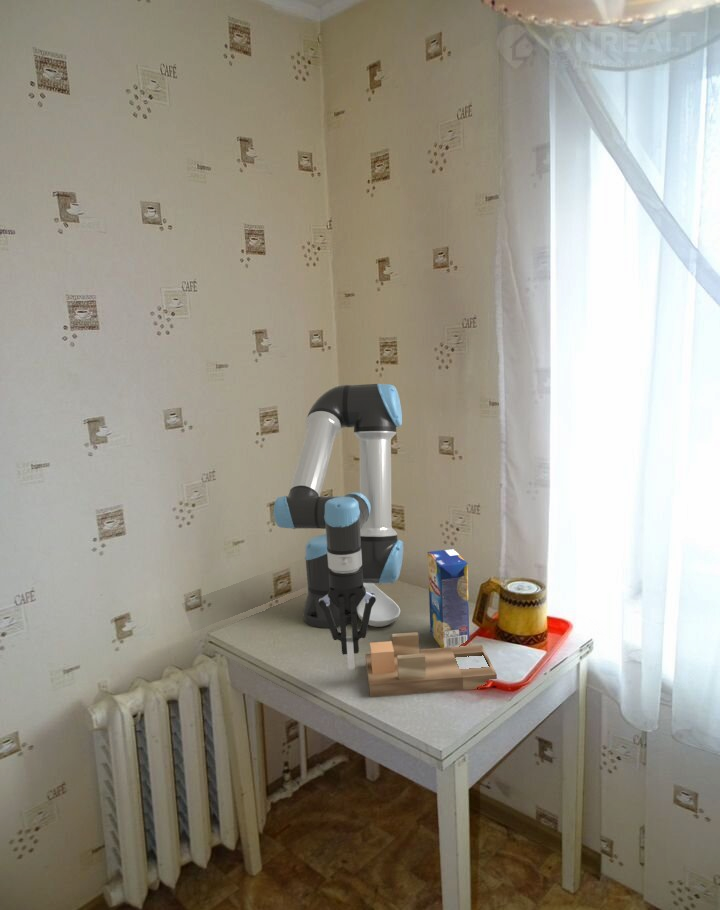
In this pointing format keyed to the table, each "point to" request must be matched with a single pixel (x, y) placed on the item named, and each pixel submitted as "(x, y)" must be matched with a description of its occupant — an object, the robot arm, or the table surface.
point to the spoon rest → (379, 607)
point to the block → (382, 657)
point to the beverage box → (448, 597)
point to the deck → (427, 669)
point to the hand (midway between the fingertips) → (351, 666)
